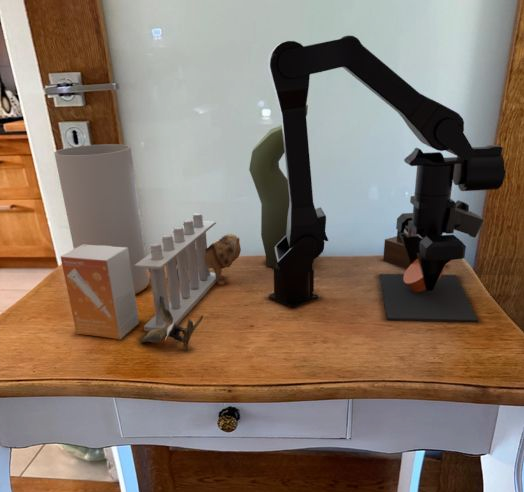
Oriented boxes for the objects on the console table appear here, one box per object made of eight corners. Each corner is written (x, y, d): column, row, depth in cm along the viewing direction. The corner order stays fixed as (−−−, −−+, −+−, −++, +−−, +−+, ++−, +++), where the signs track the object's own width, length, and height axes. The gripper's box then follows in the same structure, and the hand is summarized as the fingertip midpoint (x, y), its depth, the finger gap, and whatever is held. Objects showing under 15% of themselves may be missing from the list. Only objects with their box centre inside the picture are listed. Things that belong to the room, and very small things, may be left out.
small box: (75, 335, 88) (58, 256, 81) (97, 318, 93) (83, 243, 87) (120, 340, 85) (106, 259, 79) (140, 323, 91) (128, 246, 84)
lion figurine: (243, 274, 109) (240, 230, 104) (242, 284, 104) (239, 238, 100) (168, 277, 109) (163, 232, 105) (164, 287, 104) (158, 241, 100)
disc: (409, 289, 94) (442, 260, 92) (398, 275, 100) (428, 247, 98) (418, 298, 95) (451, 269, 92) (407, 283, 101) (437, 256, 99)
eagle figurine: (211, 329, 85) (167, 307, 89) (197, 304, 79) (150, 282, 82) (183, 368, 83) (139, 345, 86) (166, 346, 76) (119, 322, 80)
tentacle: (307, 271, 109) (307, 106, 95) (247, 268, 112) (239, 107, 98) (315, 256, 117) (316, 102, 103) (259, 254, 120) (253, 103, 106)
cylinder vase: (151, 295, 101) (131, 152, 89) (81, 304, 98) (50, 157, 87) (148, 273, 112) (129, 142, 100) (84, 280, 109) (57, 147, 98)
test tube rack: (169, 333, 87) (158, 252, 80) (143, 331, 88) (131, 251, 82) (221, 276, 108) (215, 209, 102) (199, 275, 109) (193, 208, 103)
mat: (478, 322, 86) (478, 319, 86) (386, 320, 88) (386, 317, 88) (455, 276, 104) (455, 274, 104) (379, 275, 106) (379, 273, 105)
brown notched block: (419, 274, 106) (423, 238, 103) (383, 260, 113) (385, 227, 110) (444, 266, 109) (449, 232, 106) (407, 253, 117) (410, 221, 113)
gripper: (506, 203, 82) (490, 301, 89) (461, 178, 98) (450, 262, 105) (431, 207, 81) (421, 304, 89) (398, 181, 98) (392, 265, 105)
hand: (423, 282), depth 97 cm, fingers closed on disc, 7 cm apart
